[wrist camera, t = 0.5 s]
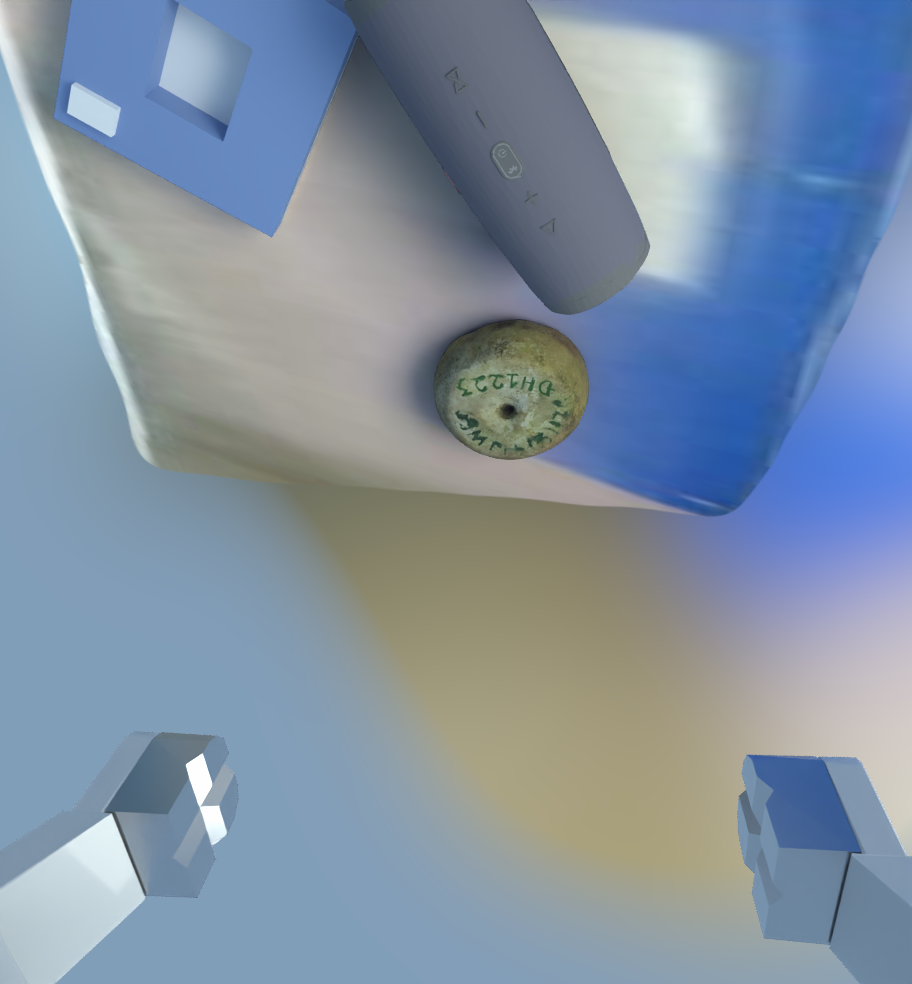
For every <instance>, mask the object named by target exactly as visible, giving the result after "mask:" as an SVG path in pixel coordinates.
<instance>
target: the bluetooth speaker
mask: <svg viewBox="0 0 912 984" xmlns="http://www.w3.org/2000/svg"><path fill="white" fill-rule="evenodd" d="M344 7H345V9H346V11H347V13H348V15H349V16H350V18H351V21H352V23H353V25H354V27H355V29H356V31H357V32H358V34H359V36H360V38H361V39H362V41H363V43H364V45H365V46H366V48H367V50H368V52H369V53H370V55H371V57H372V58H373V60H374V61H375V63H376V65H377V66H378V68H379V69H380V71H381V73H382V74H383V76H384V77H385V79H386V81H387V82H388V84H389V85H390V87H391V89H392V90H393V92H394V93H395V95H396V97H397V98H398V100H399V101H400V103H401V105H402V106H403V108H404V109H405V111H406V112H407V114H408V116H409V117H410V119H411V120H412V122H413V123H414V125H415V126H416V128H417V129H418V131H419V132H420V134H421V136H422V137H423V139H424V140H425V142H426V143H427V145H428V146H429V148H430V149H431V151H432V152H433V154H434V155H435V157H436V158H437V160H438V161H439V163H440V164H441V166H442V168H443V170H444V173H445V174H447V177H449V180H450V181H451V183H452V184H453V186H454V187H456V189H457V190H458V192H459V193H460V194H461V195H462V196H463V198H464V199H465V201H466V202H467V204H468V205H469V206H470V208H471V209H472V211H473V212H474V214H475V215H476V216H477V218H478V219H479V221H480V222H481V223H482V225H483V226H484V227H485V229H486V230H487V232H488V233H489V234H490V236H491V237H492V238H493V240H494V241H495V243H496V244H497V245H498V247H499V248H500V249H501V251H502V252H503V253H504V255H505V256H506V257H507V259H508V260H509V261H510V263H511V264H512V265H513V267H514V268H515V269H516V271H517V272H518V273H519V275H520V276H521V277H522V279H523V280H524V281H525V283H526V284H527V285H528V286H529V288H530V289H531V290H532V291H533V292H534V294H535V295H536V296H537V297H538V298H539V299H540V300H541V301H542V302H543V303H544V305H545V306H546V307H547V308H548V309H550V310H551V311H552V312H555V313H559V314H565V315H571V314H577V313H580V312H583V311H586V310H588V309H591V308H593V307H595V306H597V305H599V304H601V303H603V302H604V301H606V300H608V299H609V298H611V297H612V296H614V295H615V294H616V293H618V292H619V291H620V290H622V289H623V288H624V287H625V286H626V285H627V284H628V283H629V282H630V281H631V280H632V278H633V277H634V276H635V274H636V273H637V271H638V270H639V269H640V267H641V266H642V264H643V263H644V261H645V259H646V257H647V255H648V252H649V248H650V244H649V241H648V238H647V235H646V232H645V230H644V227H643V225H642V222H641V219H640V217H639V215H638V213H637V210H636V208H635V206H634V204H633V202H632V200H631V197H630V195H629V193H628V191H627V189H626V187H625V185H624V183H623V181H622V179H621V177H620V175H619V173H618V171H617V169H616V166H615V164H614V162H613V160H612V158H611V155H610V152H609V150H608V148H607V146H606V145H605V143H604V141H603V139H602V137H601V135H600V133H599V131H598V129H597V127H596V125H595V123H594V121H593V119H592V117H591V115H590V113H589V111H588V109H587V107H586V105H585V103H584V101H583V99H582V97H581V96H580V94H579V92H578V90H577V88H576V86H575V85H574V83H573V81H572V79H571V77H570V75H569V74H568V72H567V70H566V68H565V66H564V64H563V63H562V61H561V59H560V57H559V55H558V53H557V52H556V50H555V48H554V46H553V44H552V43H551V41H550V39H549V37H548V36H547V34H546V32H545V30H544V29H543V27H542V25H541V23H540V22H539V20H538V18H537V16H536V15H535V13H534V11H533V9H532V8H531V7H530V5H529V4H528V2H527V1H526V0H345V2H344Z"/></svg>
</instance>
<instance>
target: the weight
mask: <svg viewBox="0 0 912 984" xmlns="http://www.w3.org/2000/svg"><path fill="white" fill-rule="evenodd" d="M588 392H589V382H588V375H587V371H586V365H585V362H584V359H583V357H582V355H581V354H580V352H579V350H578V349H577V348H576V346H575V345H574V344H573V342H572V341H571V340H570V339H569V338H567V337H566V336H565V335H563V334H562V333H560V332H559V331H557V330H555V329H553V328H550V327H547V326H543V325H540V324H537V323H533V322H530V321H526V320H510V321H503V322H498V323H494V324H490V325H487V326H484V327H482V328H479V329H477V330H476V331H474V332H473V333H470V334H466V335H463V336H461V337H459V338H458V339H456V340H455V341H453V342H452V343H451V345H450V346H449V347H448V349H447V350H446V352H445V353H444V355H443V357H442V359H441V361H440V363H439V364H438V367H437V370H436V373H435V380H434V394H435V403H436V407H437V411H438V413H439V416H440V418H441V420H442V421H443V423H444V424H445V426H446V427H447V428H448V429H449V431H450V432H451V433H452V434H453V435H454V436H455V437H456V438H457V439H458V440H459V441H460V442H462V443H463V444H464V445H466V446H467V447H469V448H470V449H472V450H473V451H475V452H478V453H480V454H483V455H486V456H489V457H493V458H497V459H507V460H514V459H522V458H528V457H531V456H535V455H538V454H541V453H543V452H545V451H547V450H549V449H551V448H553V447H555V446H556V445H558V444H559V443H561V442H562V441H563V440H565V439H566V438H567V437H568V436H569V435H570V434H571V433H572V432H573V431H574V430H575V428H576V427H577V426H578V424H579V422H580V420H581V418H582V416H583V413H584V410H585V407H586V405H587V401H588Z"/></svg>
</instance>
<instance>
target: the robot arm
mask: <svg viewBox="0 0 912 984" xmlns="http://www.w3.org/2000/svg"><path fill="white" fill-rule="evenodd" d="M228 754H229V752H228V749H227V746H226V743H225V740H224V738H222V737H219V736H211V735H196V734H180V733H164V732H162V733H154V732H139V731H134V732H132V733H130V734H129V735H127V736H125V738H124V739H123V740H122V742H121V743H120V744H119V746H118V747H117V748H116V750H115V751H114V753H113V754H112V755H111V757H110V758H109V760H108V761H107V762H106V764H105V765H104V766H103V768H102V769H101V771H100V772H99V773H98V775H97V776H96V778H95V779H94V780H93V782H92V783H91V785H90V786H89V787H88V789H87V790H86V791H85V793H84V794H83V796H82V797H81V798H80V800H79V801H78V802H77V804H76V805H75V807H74V808H73V810H72V811H61V812H60V813H58V814H57V815H55V816H54V817H52V818H50V819H49V820H47V821H46V822H44V823H43V824H41V825H39V826H38V827H36V828H35V829H33V830H32V831H30V832H29V833H27V834H25V835H24V836H22V837H21V838H19V839H18V840H16V841H14V842H13V843H11V844H10V845H8V846H7V847H5V848H3V849H2V850H0V984H55V983H56V982H57V981H58V980H59V979H60V978H61V977H62V976H63V975H64V974H66V973H67V972H68V971H69V970H70V969H71V968H72V967H73V966H74V965H75V964H76V963H77V962H78V961H80V959H82V958H83V957H84V956H85V955H86V954H87V953H88V952H89V951H90V950H91V949H92V948H93V947H94V946H95V945H97V944H98V943H99V942H100V941H101V940H102V939H103V938H104V937H105V936H106V935H107V934H108V933H109V932H111V931H112V930H113V929H114V928H115V927H116V926H117V925H118V924H119V923H120V922H121V921H122V920H123V919H125V918H126V916H128V915H129V914H130V913H131V912H132V911H133V910H134V909H135V908H136V907H137V906H138V905H140V903H142V902H143V901H144V900H145V896H166V897H191V898H192V897H193V898H197V897H198V895H199V893H200V890H201V889H202V886H203V884H204V882H205V880H206V878H207V876H208V874H209V872H210V870H211V868H212V866H213V863H214V861H215V855H214V851H213V847H212V846H213V845H214V844H215V843H217V842H218V841H219V840H220V839H222V838H223V837H224V836H226V835H227V833H228V831H229V829H230V827H231V825H232V822H233V820H234V817H235V813H236V808H237V803H238V784H237V780H236V776H235V773H234V772H233V771H231V770H230V769H229V768H228V767H227V766H226V765H225V764H224V762H225V760H226V758H227V756H228ZM742 776H743V780H744V784H745V787H746V790H745V791H744V792H743V793H742V794H741V795H740V796H739V802H738V833H739V839H740V845H741V850H742V855H743V859H744V863H745V864H746V866H747V867H748V868H750V870H751V871H753V873H754V874H755V876H754V883H753V890H752V894H753V898H754V902H755V906H756V910H757V914H758V917H759V921H760V925H761V929H762V933H763V936H764V938H766V939H776V940H787V941H796V942H807V943H816V944H827V945H830V949H831V950H832V952H834V954H835V955H836V956H837V958H839V960H840V961H841V962H842V963H843V965H844V966H845V967H846V968H847V969H848V970H849V972H850V973H851V974H852V975H853V976H854V977H855V979H856V980H857V981H858V982H859V983H860V984H912V857H909V856H907V854H906V852H905V850H904V848H903V846H902V844H901V842H900V840H899V838H898V836H897V834H896V832H895V830H894V828H893V826H892V824H891V822H890V819H889V818H888V815H887V813H886V811H885V809H884V807H883V805H882V803H881V801H880V799H879V797H878V795H877V793H876V791H875V789H874V787H873V785H872V783H871V781H870V778H869V777H868V774H867V772H866V770H865V768H864V766H863V764H862V763H861V762H860V761H859V760H858V759H857V758H850V757H818V758H817V757H814V756H777V755H776V756H775V755H746V757H745V759H744V762H743V770H742Z"/></svg>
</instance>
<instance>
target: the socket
mask: <svg viewBox="0 0 912 984" xmlns="http://www.w3.org/2000/svg"><path fill="white" fill-rule="evenodd" d="M344 2H345V0H72V2H71V8H70V15H69V21H68V28H67V34H66V41H65V47H64V54H63V60H62V67H61V74H60V80H59V87H58V93H57V100H56V106H55V113H54V119H56V120H58V121H60V122H62V123H64V124H65V125H67V126H69V127H71V128H73V129H75V130H76V131H78V132H80V133H82V134H84V135H85V136H87V137H89V138H91V139H93V140H95V141H96V142H98V143H100V144H102V145H104V146H106V147H107V148H109V149H111V150H113V151H115V152H117V153H118V154H120V155H122V156H124V157H126V158H128V159H129V160H131V161H133V162H135V163H137V164H139V165H140V166H142V167H144V168H146V169H148V170H149V171H151V172H153V173H155V174H157V175H159V176H160V177H162V178H164V179H166V180H168V181H170V182H171V183H173V184H175V185H177V186H179V187H181V188H182V189H184V190H186V191H188V192H190V193H192V194H193V195H195V196H197V197H199V198H201V199H203V200H204V201H206V202H208V203H210V204H212V205H213V206H215V207H217V208H219V209H221V210H223V211H224V212H226V213H228V214H230V215H232V216H234V217H235V218H237V219H239V220H241V221H243V222H245V223H246V224H248V225H250V226H252V227H254V228H256V229H257V230H259V231H261V232H263V233H265V234H267V235H268V236H270V237H272V236H273V235H274V233H275V232H276V230H277V229H278V227H279V225H280V224H281V222H282V221H283V218H284V216H285V213H286V211H287V208H288V206H289V204H290V201H291V199H292V196H293V194H294V191H295V189H296V186H297V184H298V182H299V179H300V177H301V174H302V172H303V169H304V167H305V164H306V162H307V160H308V157H309V155H310V152H311V150H312V147H313V145H314V142H315V140H316V138H317V135H318V133H319V130H320V128H321V125H322V123H323V121H324V118H325V116H326V113H327V111H328V108H329V106H330V103H331V101H332V99H333V96H334V94H335V91H336V89H337V86H338V84H339V81H340V79H341V77H342V74H343V72H344V69H345V67H346V64H347V62H348V59H349V57H350V55H351V52H352V50H353V47H354V45H355V42H356V40H357V37H358V35H359V34H358V32H357V31H356V29H355V27H354V25H353V23H352V21H351V18H350V16H349V15H348V13H347V11H346V9H345V7H344Z"/></svg>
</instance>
